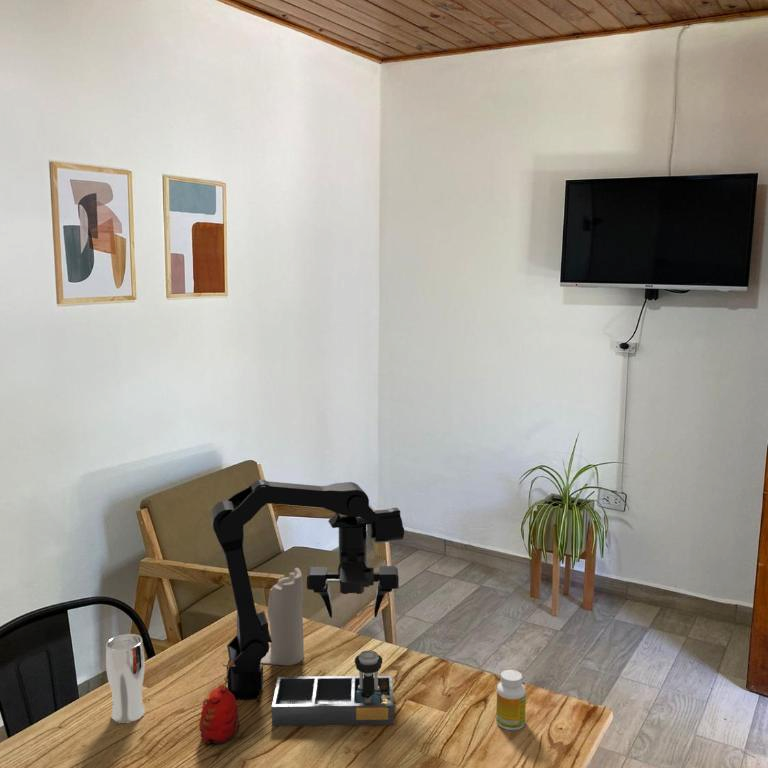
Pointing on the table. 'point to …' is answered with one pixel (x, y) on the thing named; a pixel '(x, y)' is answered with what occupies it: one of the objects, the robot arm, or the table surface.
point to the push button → (369, 678)
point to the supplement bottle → (511, 701)
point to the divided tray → (328, 702)
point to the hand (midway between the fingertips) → (353, 616)
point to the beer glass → (126, 676)
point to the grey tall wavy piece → (286, 621)
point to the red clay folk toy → (219, 715)
